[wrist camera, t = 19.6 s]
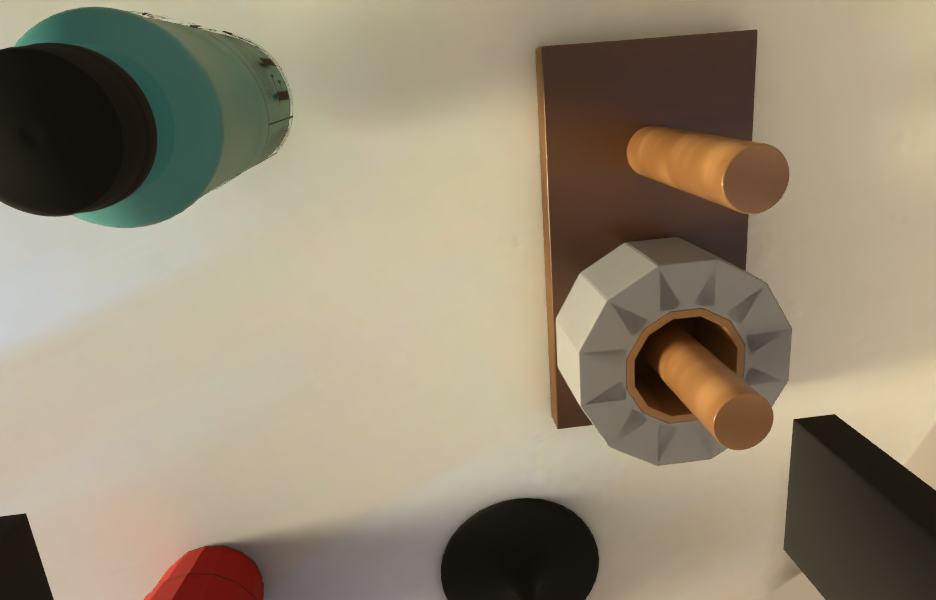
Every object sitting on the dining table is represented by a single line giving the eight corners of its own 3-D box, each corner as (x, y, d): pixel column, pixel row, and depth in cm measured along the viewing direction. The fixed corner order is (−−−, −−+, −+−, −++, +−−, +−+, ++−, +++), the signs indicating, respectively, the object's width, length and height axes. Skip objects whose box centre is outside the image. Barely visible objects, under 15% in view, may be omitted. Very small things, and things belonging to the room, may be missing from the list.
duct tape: (559, 429, 40) (581, 475, 36) (552, 249, 37) (576, 273, 32) (738, 407, 41) (783, 450, 36) (747, 229, 38) (797, 250, 33)
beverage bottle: (325, 102, 35) (246, 129, 16) (240, 196, 36) (69, 327, 17) (221, 2, 33) (-6, -100, 14) (134, 105, 34) (-188, 137, 15)
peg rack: (535, 48, 35) (607, 31, 23) (742, 31, 36) (915, 7, 24) (551, 416, 42) (615, 551, 30) (727, 395, 43) (857, 518, 31)
